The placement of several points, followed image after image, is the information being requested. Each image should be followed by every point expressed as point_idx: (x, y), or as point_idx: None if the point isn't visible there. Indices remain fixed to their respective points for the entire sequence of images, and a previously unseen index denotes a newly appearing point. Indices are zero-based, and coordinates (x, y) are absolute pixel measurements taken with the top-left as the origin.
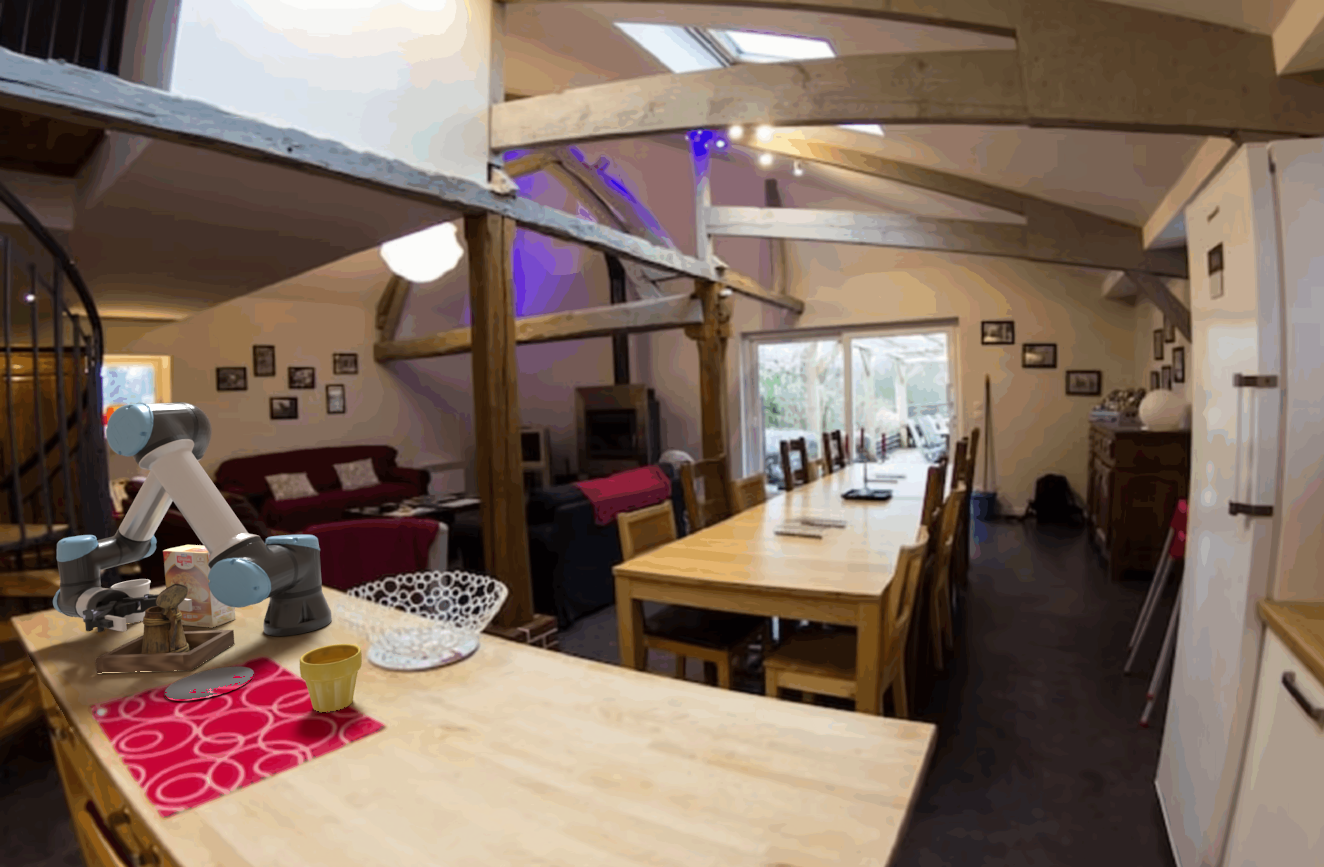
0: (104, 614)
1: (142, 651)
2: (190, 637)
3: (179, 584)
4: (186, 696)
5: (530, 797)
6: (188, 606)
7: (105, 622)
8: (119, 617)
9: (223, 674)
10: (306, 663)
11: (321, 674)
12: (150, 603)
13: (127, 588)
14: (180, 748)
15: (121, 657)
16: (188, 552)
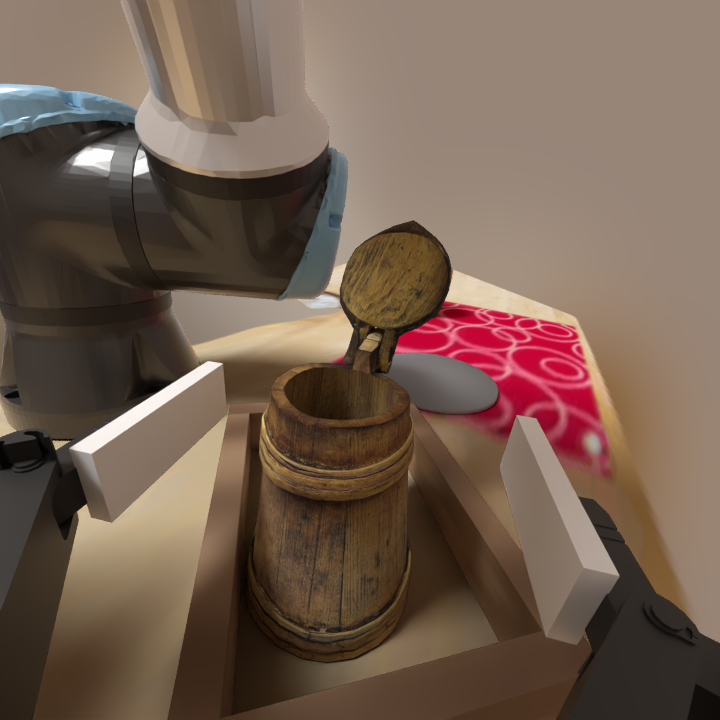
0: (614, 673)
1: (400, 572)
2: (242, 501)
3: (394, 227)
4: (482, 376)
5: (454, 280)
6: (223, 393)
7: (606, 518)
8: (535, 446)
9: (406, 376)
10: (452, 269)
11: None
12: (2, 684)
13: None
14: (537, 345)
15: (509, 537)
16: None
